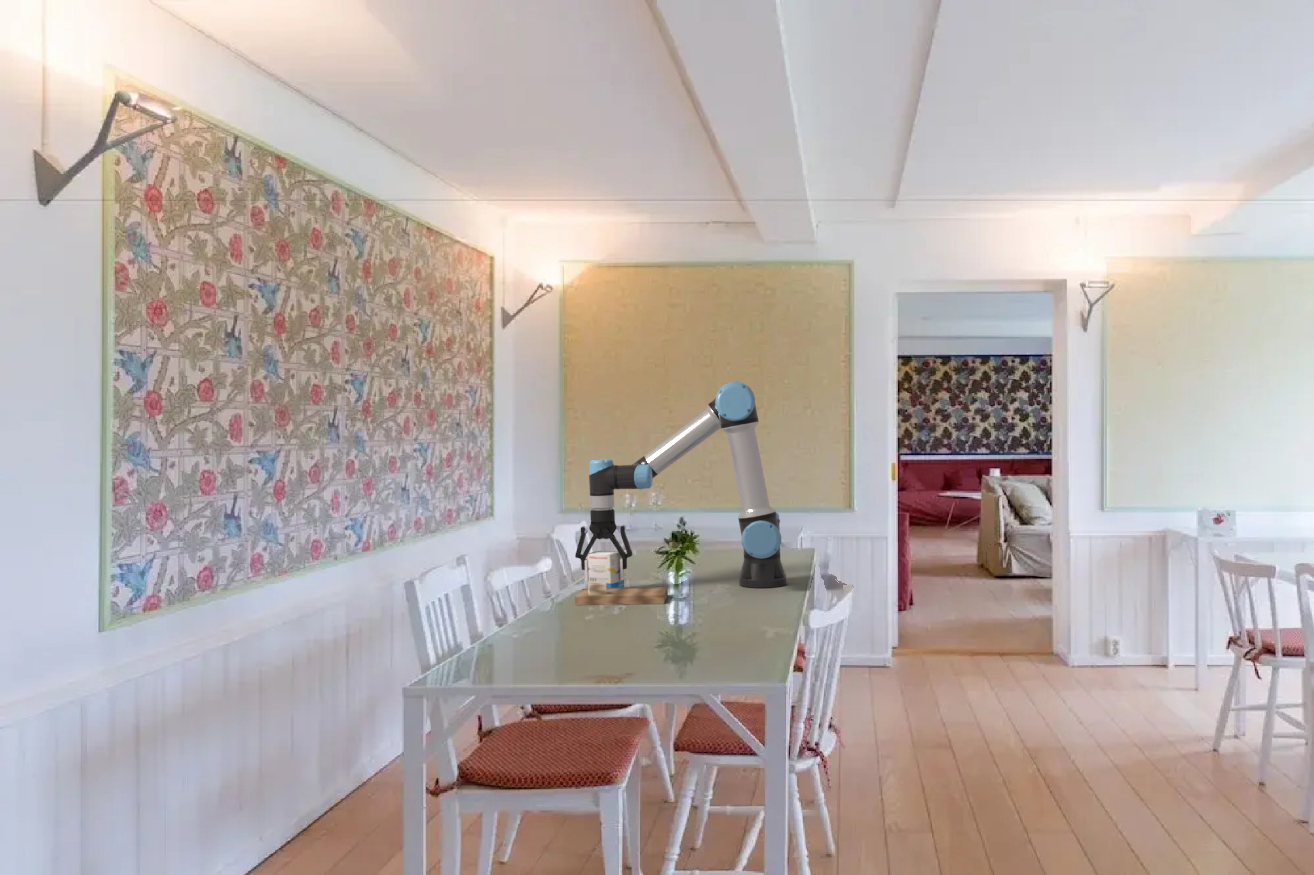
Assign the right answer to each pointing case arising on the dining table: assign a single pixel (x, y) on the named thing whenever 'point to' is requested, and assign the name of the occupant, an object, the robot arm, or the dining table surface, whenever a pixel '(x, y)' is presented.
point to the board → (624, 596)
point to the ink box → (605, 568)
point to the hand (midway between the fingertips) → (604, 580)
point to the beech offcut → (597, 588)
